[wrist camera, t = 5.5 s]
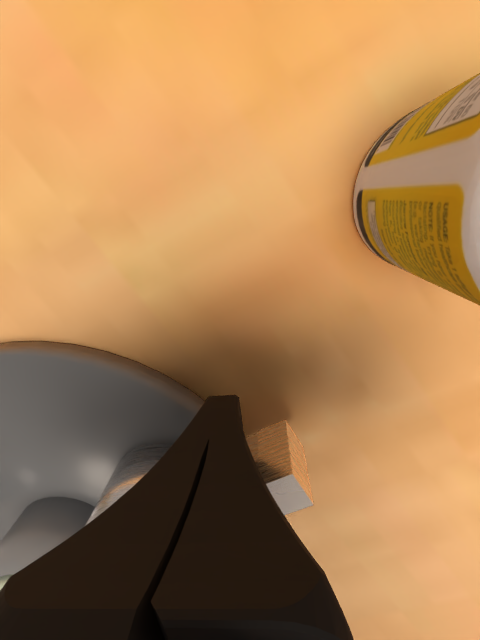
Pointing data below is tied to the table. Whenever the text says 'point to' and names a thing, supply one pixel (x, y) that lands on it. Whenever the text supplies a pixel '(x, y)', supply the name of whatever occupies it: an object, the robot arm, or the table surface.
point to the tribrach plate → (72, 437)
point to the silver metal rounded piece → (269, 455)
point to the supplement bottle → (427, 192)
